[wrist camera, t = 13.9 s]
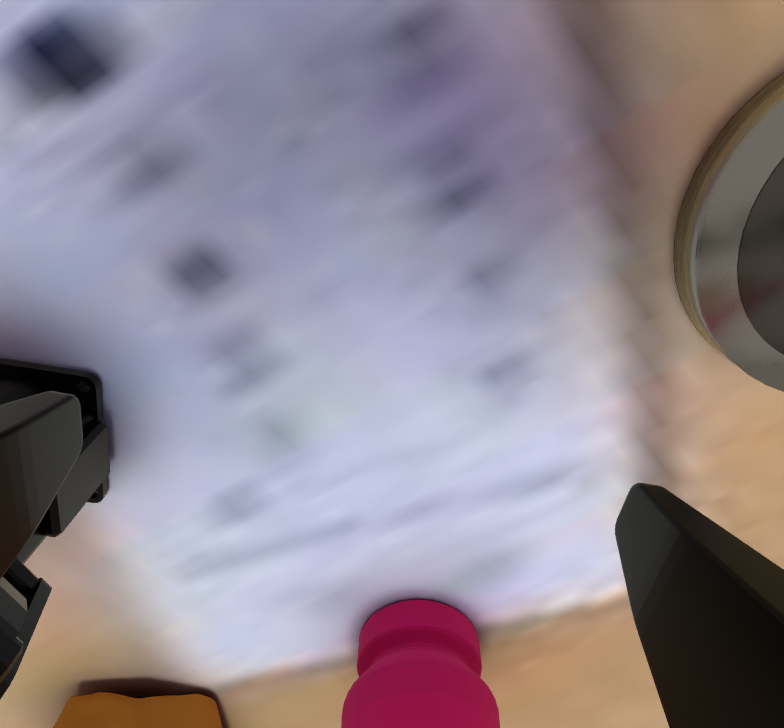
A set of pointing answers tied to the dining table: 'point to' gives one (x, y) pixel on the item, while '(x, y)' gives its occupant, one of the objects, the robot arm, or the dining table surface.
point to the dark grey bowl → (739, 240)
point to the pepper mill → (419, 671)
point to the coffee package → (139, 712)
